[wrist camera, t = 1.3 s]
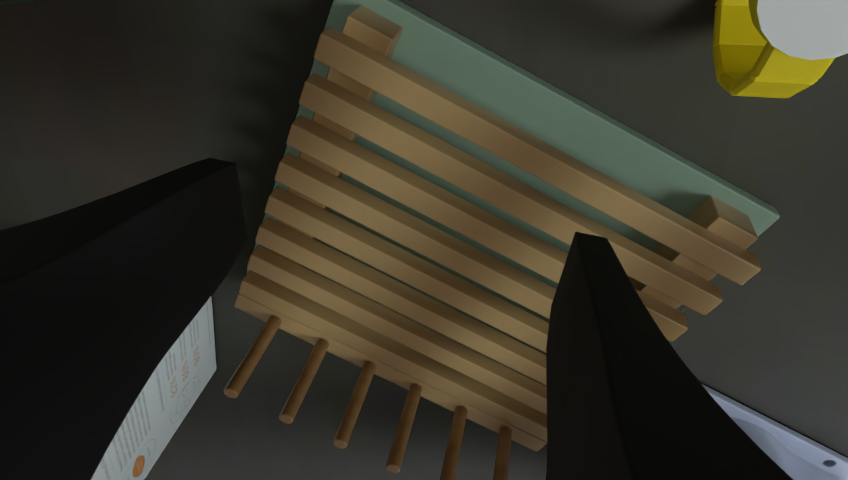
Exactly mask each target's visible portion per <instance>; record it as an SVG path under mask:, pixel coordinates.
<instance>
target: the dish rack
mask: <svg viewBox="0 0 848 480" xmlns="http://www.w3.org/2000/svg"><path fill="white" fill-rule="evenodd" d="M313 58H314V63H313V66H312V69H311V72H310V75H309V78H308V79H307V80H306V81H305V83H304V86H303V90H302V93H301V96H300V99H299V104H300V107H299V110H298V113H297V116H296V119H295V121H294V122H293V123H292V125H291V128H290V131H289V134H288V137H287V140H286V144H287V147H286V150H285V154H284V157H283V159H282V160H281V161H280V162H279V166H278V169H277V172H276V175H275V178H274V180H276V182H275V185H274V188H273V191H272V193H271V194H270V195H269V198H268V201H267V204H266V207H265V210H264V212H265V216H264V219H263V222H262V224H261V225H260V227H259V229H258V232H257V235H256V239H255V242H256V244H255V248H254V251H253V252H252V254H251V255H250V258H249V261H248V265H247V268H248V269H247V275H246V276H245V277H244V279H243V280H242V283H241V286H240V289H239V293H238V296H237V299H236V302H235V307H236V308H238V309H240V310H242V311H244V312H246V313H248V314H251V315H253V316H255V317H257V318H259V319H261V320H263V321H265V322H266V324H265V325H264V327H263V328H262V330H261V332H260V333H259V335H258V336H257V338H256V340H255V341H254V343H253V344H252V346H251V347H250V349H249V351H248V352H247V354H246V355H245V357H244V358H243V360H242V362H241V363H240V365H239V366H238V368H237V369H236V371H235V373H234V374H233V376H232V377H231V379H230V381H229V382H228V384H227V385H226V387H225V388H224V394H225V395H226V396H228V397H230V398H236V397H237V396H238V395H239V393H240V391H241V390H242V388H243V386H244V385H245V383H246V381H247V380H248V378H249V377H250V375H251V373H252V372H253V370H254V368H255V367H256V365H257V363H258V362H259V360H260V358H261V357H262V355H263V353H264V352H265V350H266V348H267V347H268V345H269V343H270V342H271V340H272V338H273V337H274V335H275V333H276V332H277V330H278V328H280V329H282V330H284V331H286V332H288V333H290V334H292V335H294V336H296V337H298V338H301V339H303V340H305V341H307V342H309V343H311V344H313V345H315V346H314V348H313V350H312V352H311V354H310V356H309V358H308V360H307V362H306V363H305V365H304V367H303V369H302V371H301V373H300V375H299V377H298V379H297V381H296V383H295V385H294V387H293V389H292V391H291V393H290V395H289V397H288V399H287V401H286V403H285V405H284V406H283V408H282V410H281V412H280V414H279V419H280V420H281V421H282V422H284V423H287V424H290V423H292V422H293V420H294V418H295V416H296V414H297V412H298V409H299V407H300V405H301V403H302V401H303V399H304V397H305V395H306V393H307V391H308V389H309V387H310V385H311V383H312V380H313V378H314V376H315V374H316V372H317V370H318V368H319V366H320V364H321V362H322V360H323V358H324V356H325V354H326V351H328V352H330V353H332V354H334V355H336V356H338V357H340V358H342V359H344V360H346V361H348V362H350V363H353V364H355V365H357V366H359V367H361V368H362V370H361V372H360V375H359V377H358V380H357V382H356V385H355V387H354V390H353V392H352V395H351V397H350V400H349V402H348V405H347V407H346V410H345V412H344V414H343V417H342V419H341V422H340V424H339V427H338V429H337V432H336V434H335V437H334V439H333V444H334V445H335V446H336V447H338V448H341V449H343V448H345V447H346V446H347V444H348V442H349V439H350V436H351V434H352V431H353V428H354V426H355V423H356V420H357V418H358V415H359V412H360V410H361V407H362V404H363V402H364V399H365V396H366V394H367V391H368V388H369V386H370V383H371V380H372V378H373V375H374V374H375V375H378V376H380V377H382V378H384V379H386V380H388V381H390V382H392V383H394V384H396V385H398V386H400V387H403V388H405V389H407V390H409V391H408V394H407V397H406V401H405V404H404V407H403V411H402V414H401V417H400V421H399V424H398V427H397V430H396V434H395V437H394V440H393V444H392V447H391V450H390V454H389V457H388V460H387V464H386V469H387V470H388V471H389V472H392V473H398V472H399V471H400V468H401V464H402V461H403V457H404V454H405V450H406V446H407V443H408V439H409V436H410V432H411V428H412V425H413V421H414V418H415V414H416V410H417V407H418V403H419V400H420V396H421V397H423V398H425V399H428V400H430V401H432V402H434V403H436V404H438V405H440V406H442V407H444V408H446V409H448V410H450V411H453V412H454V416H453V421H452V425H451V430H450V435H449V439H448V444H447V449H446V454H445V458H444V463H443V468H442V472H441V477H440V480H455V475H456V470H457V465H458V459H459V454H460V449H461V443H462V438H463V433H464V428H465V422H466V418H467V419H469V420H471V421H473V422H475V423H478V424H480V425H482V426H484V427H486V428H488V429H490V430H492V431H494V432H496V433H498V434H499V438H498V446H497V453H496V461H495V469H494V477H493V480H507V476H508V467H509V457H510V448H511V440H513V441H515V442H517V443H519V444H521V445H523V446H525V447H527V448H530V449H532V450H534V451H536V452H537V451H539V450H540V449H541V448H542V447H543V446H545V445H546V444H547V384H546V346H547V337H548V328H549V320H550V312H551V305H552V302H553V299H554V296H555V293H556V289H557V286H558V283H559V280H560V277H561V274H562V271H563V268H564V265H565V262H566V259H567V256H568V253H569V250H570V247H571V244H572V240H573V237H574V234H575V232H580V233H585V234H590V235H595V236H600V237H605V238H607V239H608V241H609V242H610V244H611V246H612V248H613V249H614V251H615V253H616V255H617V257H618V259H619V261H620V263H621V265H622V266H623V268H624V270H625V272H626V274H627V276H628V277H629V279H630V281H631V283H632V285H633V286H634V288H635V290H636V291H637V293H638V295H639V297H640V298H641V300H642V301H643V303H644V305H645V306H646V308H647V310H648V311H649V313H650V314H651V316H652V318H653V319H654V321H655V322H656V324H657V325H658V327H659V329H660V330H661V332H662V333H663V335H664V336H665V337H666V339H667V340H669V341H671V342H673V341H674V340H675V339H677V338H678V337H679V336H680V335H682V334H683V333H684V332H685V331H687V330H688V325H687V321H686V316H685V314H683V313H681V312H679V311H677V310H676V309H677V308H678V307H679V306H681V305H682V304H683V305H685V306H687V307H689V308H691V309H693V310H695V311H697V312H699V313H701V314H702V315H706V314H708V313H709V312H710V311H711V310H713V309H714V308H715V307H716V306H718V305H719V304H720V303H721V302H722V301H723V299H722V296H721V293H720V290H719V287H718V286H717V285H715V284H713V283H711V282H709V281H710V280H711V279H712V278H713V277H714V276H715V275H717V274H720V275H722V276H724V277H726V278H728V279H729V280H731V281H733V282H735V283H737V284H739V285H743V284H744V283H745V282H747V281H748V280H749V279H750V278H751V277H753V276H754V275H755V274H756V273H758V272H759V271H760V270H761V268H760V265H759V263H758V261H757V258H756V256H755V255H753V254H752V253H750V252H748V251H746V249H747V248H748V247H749V246H750V245H751V244H753V243H754V242H755V241H756V240H757V239H758V236H759V235H760V234H761V233H762V232H764V231H765V230H766V229H767V228H768V227H769V226H770V225H772V224H773V223H774V222H775V221H776V220H777V219H779V217H780V216H779V214H778V212H777V210H776V208H774V207H773V206H771V205H769V204H767V203H765V202H763V201H762V200H760V199H758V198H756V197H754V196H753V195H751V194H749V193H747V192H745V191H743V190H742V189H740V188H738V187H736V186H734V185H733V184H731V183H729V182H727V181H725V180H723V179H722V178H720V177H718V176H716V175H714V174H713V173H711V172H709V171H707V170H705V169H704V168H702V167H700V166H698V165H696V164H694V163H693V162H691V161H689V160H687V159H685V158H684V157H682V156H680V155H678V154H676V153H674V152H673V151H671V150H669V149H667V148H665V147H664V146H662V145H660V144H658V143H656V142H654V141H653V140H651V139H649V138H647V137H645V136H644V135H642V134H640V133H638V132H636V131H634V130H633V129H631V128H629V127H627V126H625V125H624V124H622V123H620V122H618V121H616V120H615V119H613V118H611V117H609V116H607V115H605V114H604V113H602V112H600V111H598V110H596V109H595V108H593V107H591V106H589V105H587V104H585V103H584V102H582V101H580V100H578V99H576V98H575V97H573V96H571V95H569V94H567V93H565V92H564V91H562V90H560V89H558V88H556V87H555V86H553V85H551V84H549V83H547V82H545V81H544V80H542V79H540V78H538V77H536V76H535V75H533V74H531V73H529V72H527V71H526V70H524V69H522V68H520V67H518V66H516V65H515V64H513V63H511V62H509V61H507V60H506V59H504V58H502V57H500V56H498V55H496V54H495V53H493V52H491V51H489V50H487V49H486V48H484V47H482V46H480V45H478V44H476V43H475V42H473V41H471V40H469V39H467V38H466V37H464V36H462V35H460V34H458V33H456V32H455V31H453V30H451V29H449V28H447V27H446V26H444V25H442V24H440V23H438V22H437V21H435V20H433V19H431V18H429V17H427V16H426V15H424V14H422V13H420V12H418V11H417V10H415V9H413V8H411V7H409V6H407V5H406V4H404V3H402V2H400V1H398V0H333V3H332V6H331V9H330V12H329V16H328V19H327V22H326V25H325V28H324V31H323V32H322V33H321V34H320V37H319V40H318V43H317V46H316V49H315V52H314V56H313Z"/></svg>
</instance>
